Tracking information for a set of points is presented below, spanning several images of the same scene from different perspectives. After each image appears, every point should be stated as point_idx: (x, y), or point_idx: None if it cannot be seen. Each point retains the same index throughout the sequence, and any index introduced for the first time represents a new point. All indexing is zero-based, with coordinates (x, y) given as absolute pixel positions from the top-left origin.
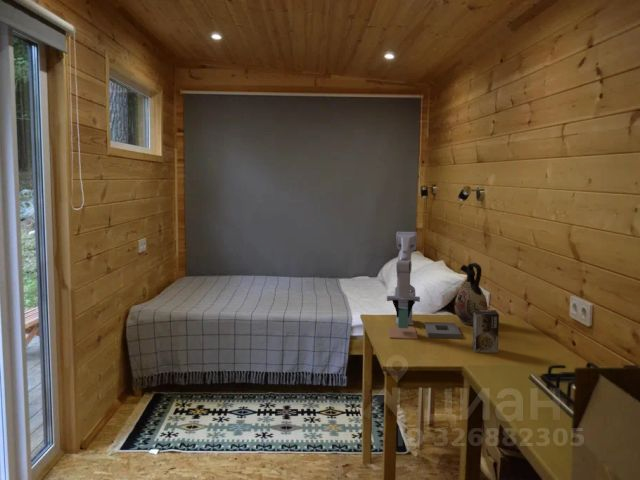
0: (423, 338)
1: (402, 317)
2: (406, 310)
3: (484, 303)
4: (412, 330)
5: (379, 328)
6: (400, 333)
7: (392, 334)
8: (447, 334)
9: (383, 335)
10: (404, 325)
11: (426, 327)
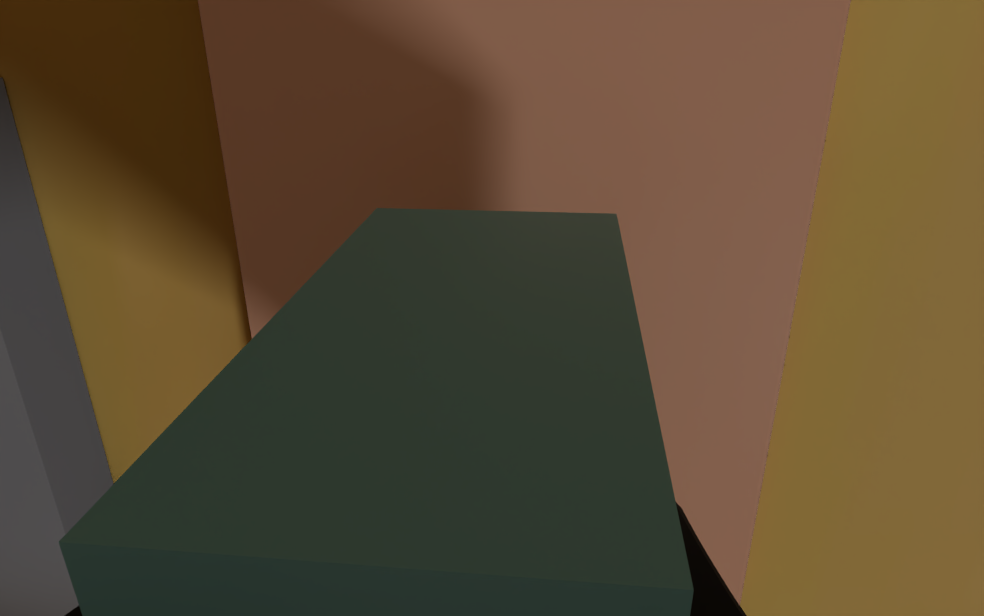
0: (89, 6)
1: (482, 346)
2: (170, 604)
3: None
4: None
5: (907, 576)
6: None
7: (751, 142)
8: None
9: (949, 151)
10: (447, 233)
11: (50, 477)
